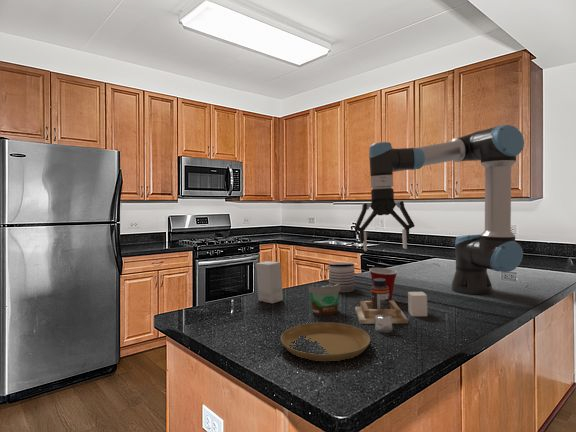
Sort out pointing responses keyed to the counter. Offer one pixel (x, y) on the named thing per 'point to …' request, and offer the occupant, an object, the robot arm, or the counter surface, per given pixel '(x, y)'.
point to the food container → (325, 299)
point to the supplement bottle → (379, 294)
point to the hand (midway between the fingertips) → (385, 249)
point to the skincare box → (269, 281)
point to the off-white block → (417, 303)
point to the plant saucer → (328, 340)
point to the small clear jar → (383, 323)
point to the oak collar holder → (368, 314)
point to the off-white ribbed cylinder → (342, 276)
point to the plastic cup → (385, 277)
